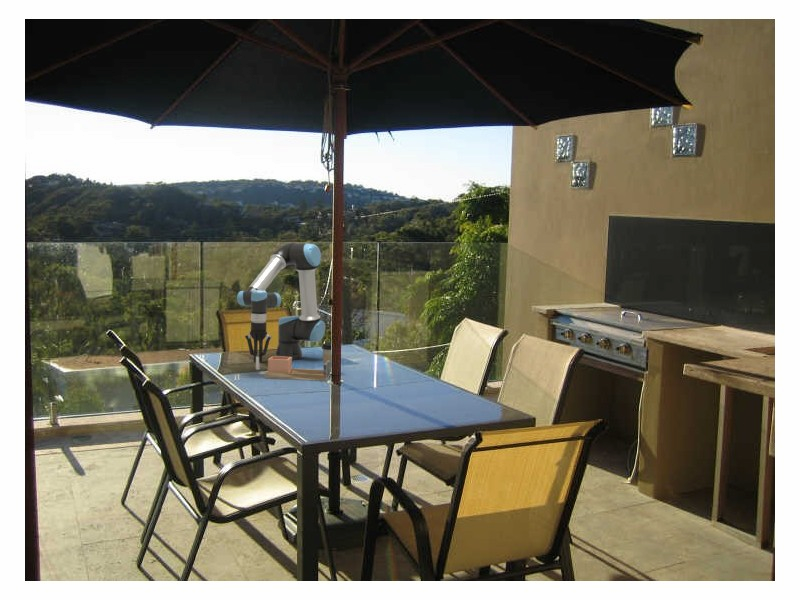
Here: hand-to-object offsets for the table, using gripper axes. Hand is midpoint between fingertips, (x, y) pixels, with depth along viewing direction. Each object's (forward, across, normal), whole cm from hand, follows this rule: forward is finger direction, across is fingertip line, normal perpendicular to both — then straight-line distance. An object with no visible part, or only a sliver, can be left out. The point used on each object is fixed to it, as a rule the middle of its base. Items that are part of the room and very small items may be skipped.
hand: (257, 369), depth 408 cm
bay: (+3, +20, 0) cm, 20 cm away
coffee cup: (+3, +34, +13) cm, 37 cm away
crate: (+2, +11, 0) cm, 11 cm away
